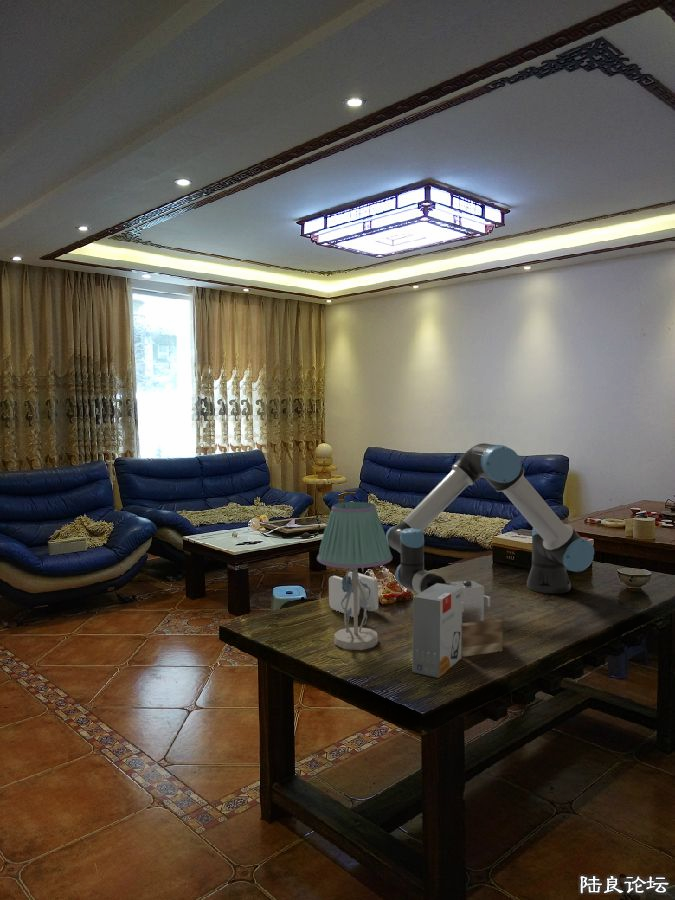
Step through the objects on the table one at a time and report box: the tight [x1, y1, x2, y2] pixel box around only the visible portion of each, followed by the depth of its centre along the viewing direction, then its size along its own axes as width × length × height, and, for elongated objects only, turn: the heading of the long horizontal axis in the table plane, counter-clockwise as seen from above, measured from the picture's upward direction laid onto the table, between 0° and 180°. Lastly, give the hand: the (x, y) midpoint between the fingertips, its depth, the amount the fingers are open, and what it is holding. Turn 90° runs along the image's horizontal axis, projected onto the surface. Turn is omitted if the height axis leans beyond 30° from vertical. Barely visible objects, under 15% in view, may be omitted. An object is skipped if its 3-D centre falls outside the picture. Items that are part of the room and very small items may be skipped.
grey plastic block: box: [328, 571, 379, 618], centre depth 218 cm, size 15×11×12 cm
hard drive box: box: [411, 583, 462, 679], centre depth 171 cm, size 16×8×20 cm, turn 148°
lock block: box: [449, 580, 485, 623], centre depth 188 cm, size 7×7×15 cm
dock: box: [461, 618, 504, 658], centre depth 188 cm, size 12×18×8 cm, turn 17°
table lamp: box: [316, 501, 393, 651], centre depth 188 cm, size 22×22×40 cm
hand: (475, 604), depth 184 cm, fingers open, 9 cm apart
